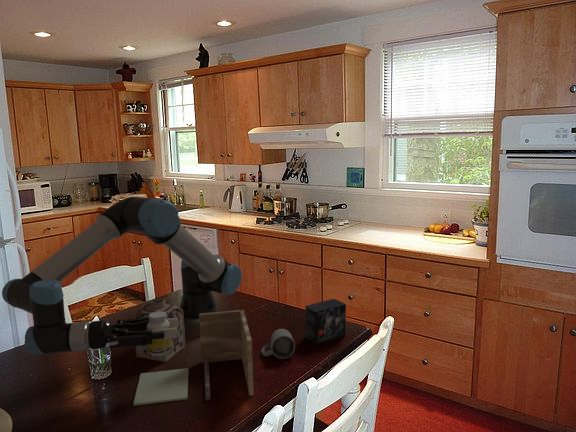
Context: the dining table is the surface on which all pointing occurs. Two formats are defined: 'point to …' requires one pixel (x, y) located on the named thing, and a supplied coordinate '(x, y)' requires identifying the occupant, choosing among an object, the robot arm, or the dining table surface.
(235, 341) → the wooden corner wall
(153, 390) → the pad
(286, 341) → the ceramic mug
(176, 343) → the decorative jar
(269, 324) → the dining table surface
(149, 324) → the pill bottle
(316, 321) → the small box
